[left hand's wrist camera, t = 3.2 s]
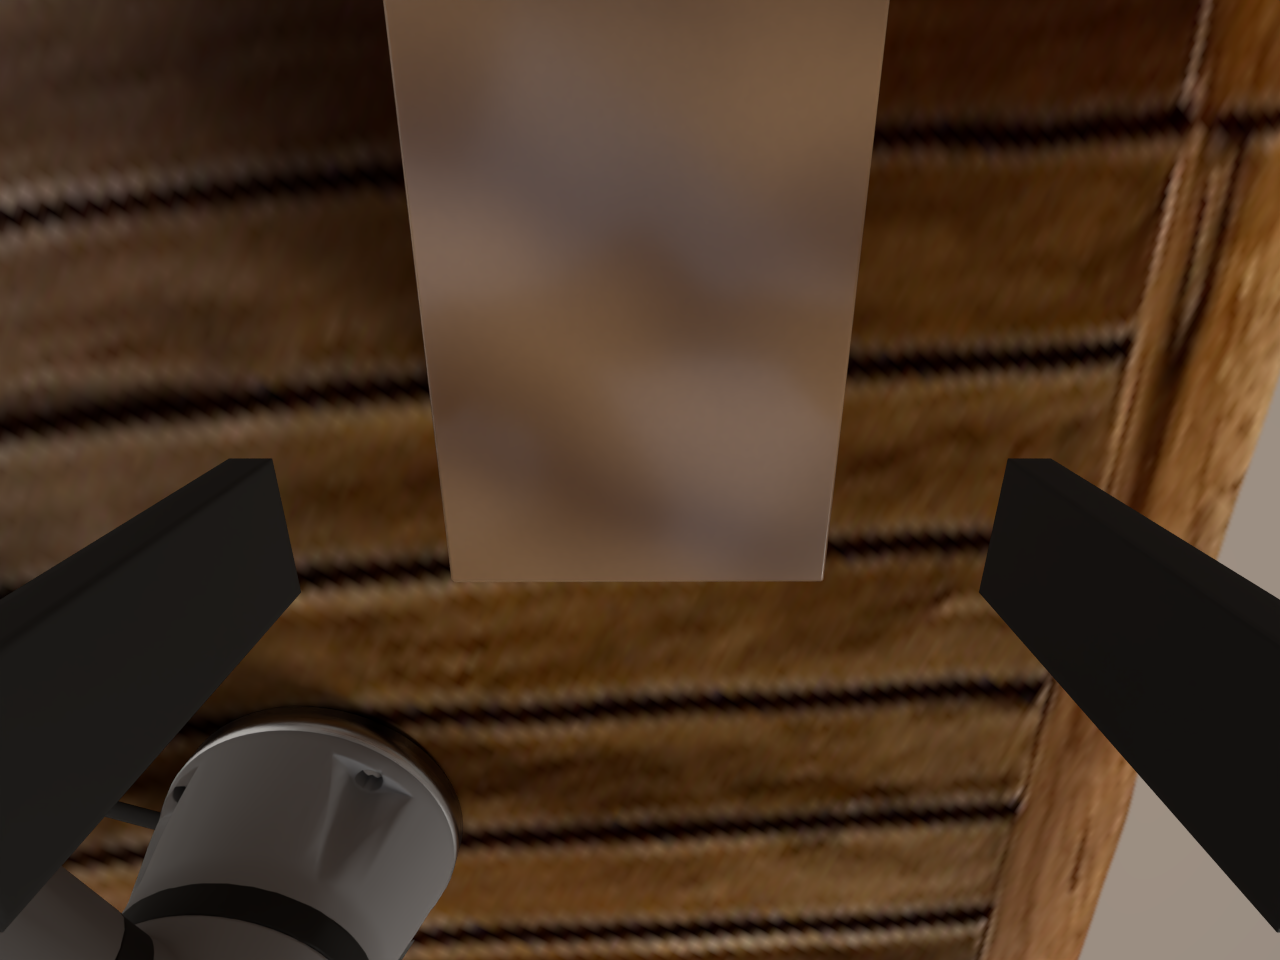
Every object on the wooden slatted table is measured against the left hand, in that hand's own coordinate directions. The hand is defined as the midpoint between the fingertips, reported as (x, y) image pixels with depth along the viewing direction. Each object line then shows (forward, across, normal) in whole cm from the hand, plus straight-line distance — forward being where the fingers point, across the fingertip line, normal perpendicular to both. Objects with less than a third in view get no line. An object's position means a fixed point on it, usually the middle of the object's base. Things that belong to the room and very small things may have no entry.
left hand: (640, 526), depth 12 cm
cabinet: (+17, 0, -6) cm, 18 cm away
